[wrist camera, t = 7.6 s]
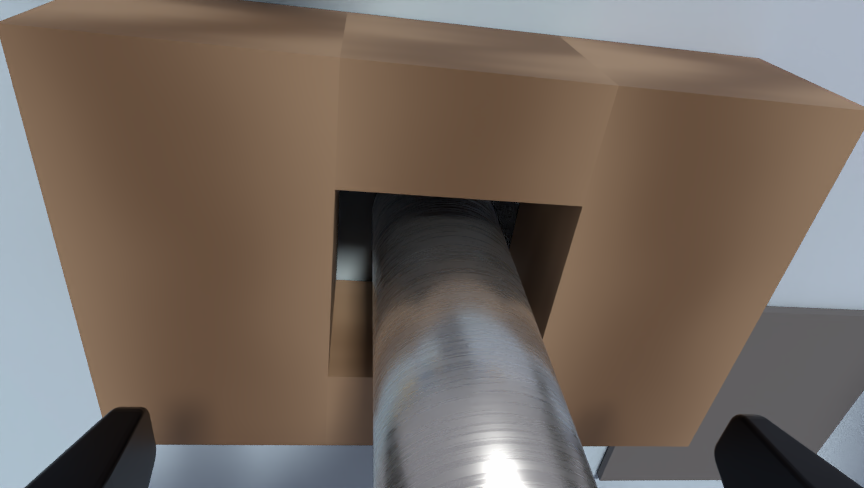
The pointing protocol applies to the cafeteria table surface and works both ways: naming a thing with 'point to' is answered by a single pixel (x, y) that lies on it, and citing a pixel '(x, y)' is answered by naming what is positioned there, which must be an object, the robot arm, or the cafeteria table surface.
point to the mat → (767, 392)
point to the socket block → (412, 175)
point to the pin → (460, 357)
